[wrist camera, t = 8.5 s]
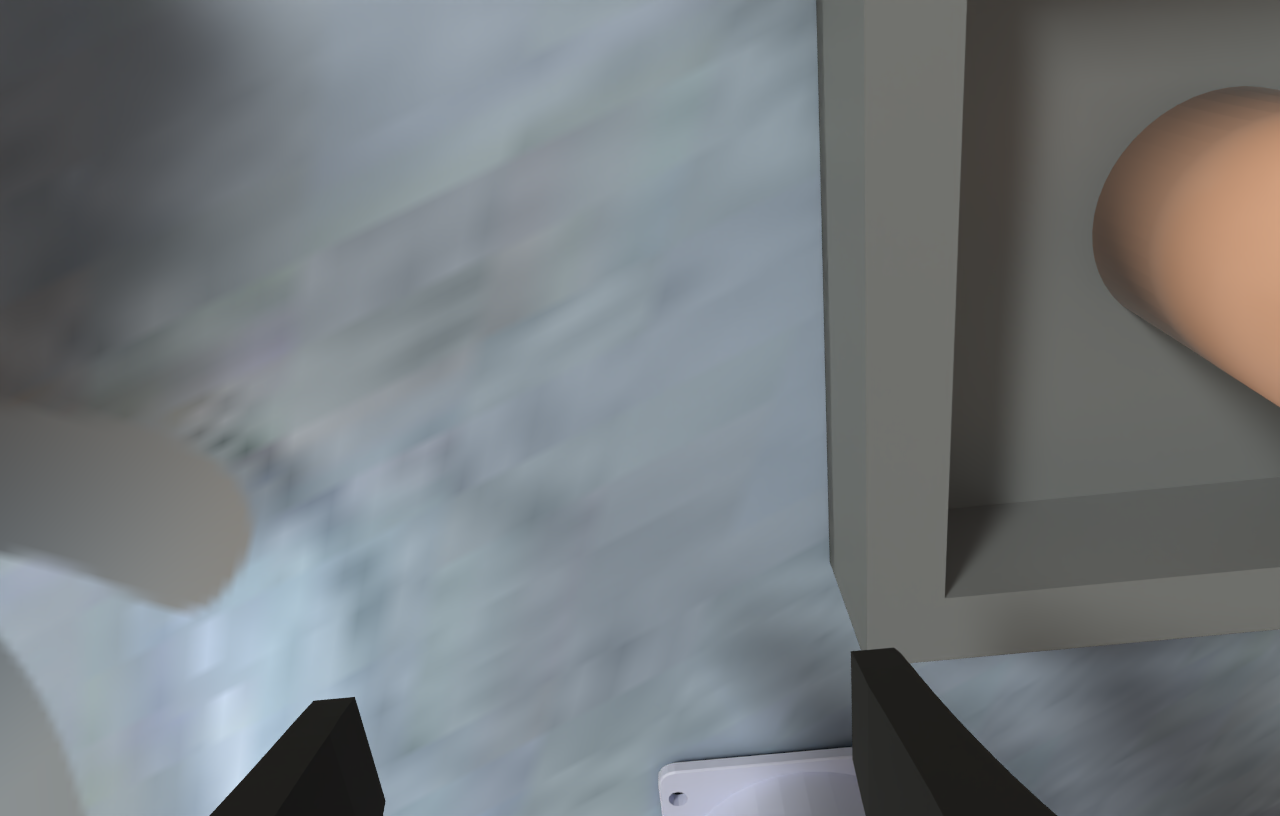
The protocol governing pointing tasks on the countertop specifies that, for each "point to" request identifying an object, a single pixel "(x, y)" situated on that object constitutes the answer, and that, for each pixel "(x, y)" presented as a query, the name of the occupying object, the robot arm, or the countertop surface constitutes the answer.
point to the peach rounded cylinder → (1202, 231)
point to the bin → (1025, 335)
